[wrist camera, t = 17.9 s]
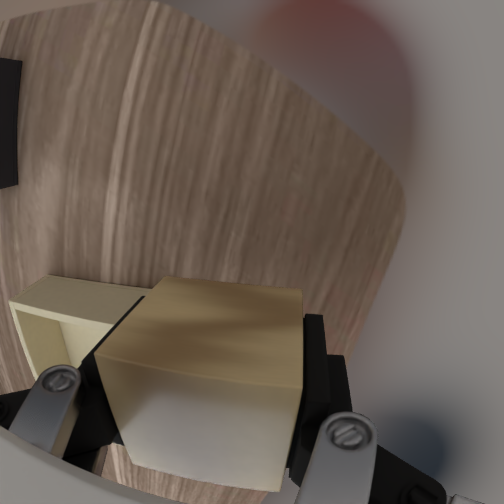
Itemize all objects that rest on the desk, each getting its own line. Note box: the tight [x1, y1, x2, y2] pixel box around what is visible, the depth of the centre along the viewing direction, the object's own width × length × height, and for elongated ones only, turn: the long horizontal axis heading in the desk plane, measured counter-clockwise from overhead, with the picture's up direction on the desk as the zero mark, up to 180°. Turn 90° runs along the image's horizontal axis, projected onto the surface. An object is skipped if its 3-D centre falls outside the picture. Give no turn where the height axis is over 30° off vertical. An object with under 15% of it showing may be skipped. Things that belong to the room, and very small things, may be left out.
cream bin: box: [9, 275, 152, 447], centre depth 21 cm, size 12×12×5 cm
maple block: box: [94, 276, 303, 492], centre depth 9 cm, size 4×4×4 cm
